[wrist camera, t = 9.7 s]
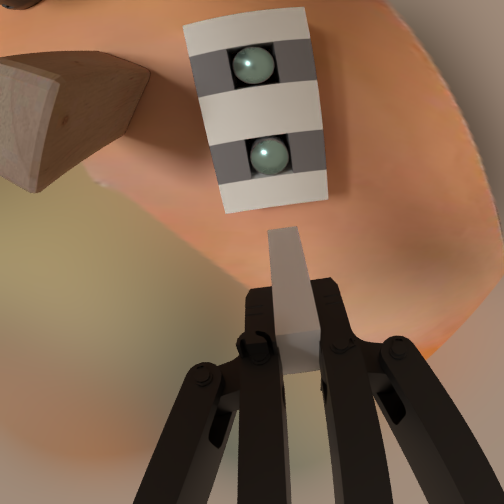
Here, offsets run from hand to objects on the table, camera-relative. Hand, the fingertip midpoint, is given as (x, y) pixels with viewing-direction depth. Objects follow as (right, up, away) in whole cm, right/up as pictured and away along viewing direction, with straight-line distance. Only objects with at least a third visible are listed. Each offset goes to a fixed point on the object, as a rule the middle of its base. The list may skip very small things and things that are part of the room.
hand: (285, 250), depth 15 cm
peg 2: (0, +14, +19) cm, 24 cm away
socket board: (-1, +18, +17) cm, 25 cm away
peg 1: (-2, +22, +14) cm, 26 cm away
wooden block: (-21, +21, +15) cm, 33 cm away
